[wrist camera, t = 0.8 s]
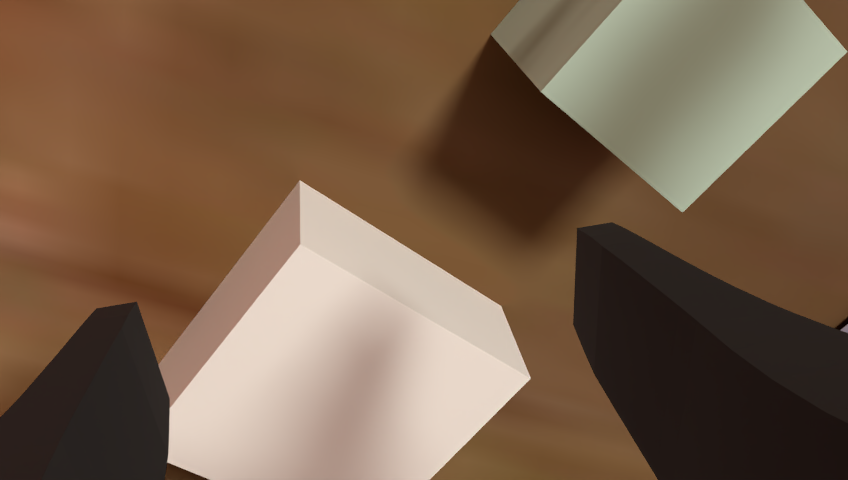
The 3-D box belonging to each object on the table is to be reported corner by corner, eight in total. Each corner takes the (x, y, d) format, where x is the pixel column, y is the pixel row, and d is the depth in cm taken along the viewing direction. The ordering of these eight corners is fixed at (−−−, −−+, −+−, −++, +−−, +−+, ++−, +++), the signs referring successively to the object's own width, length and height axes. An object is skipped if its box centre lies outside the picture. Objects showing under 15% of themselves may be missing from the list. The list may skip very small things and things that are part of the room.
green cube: (735, 3, 21) (847, 52, 17) (609, 136, 23) (682, 212, 18) (620, -123, 19) (714, -104, 15) (489, 33, 21) (540, 91, 16)
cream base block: (498, 301, 25) (531, 378, 22) (357, 452, 28) (366, 543, 24) (299, 176, 22) (300, 244, 19) (159, 360, 25) (136, 450, 21)
